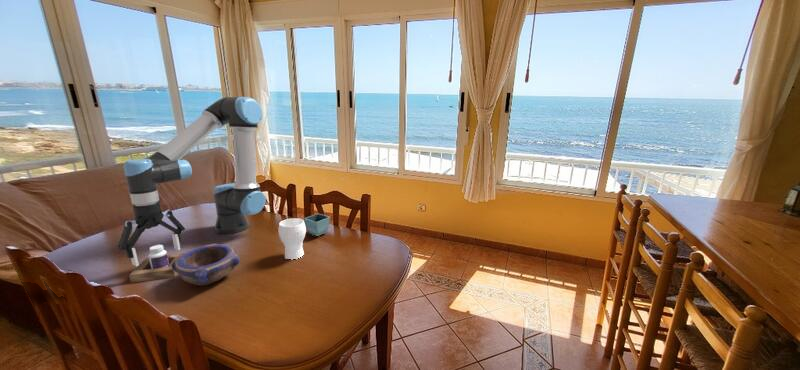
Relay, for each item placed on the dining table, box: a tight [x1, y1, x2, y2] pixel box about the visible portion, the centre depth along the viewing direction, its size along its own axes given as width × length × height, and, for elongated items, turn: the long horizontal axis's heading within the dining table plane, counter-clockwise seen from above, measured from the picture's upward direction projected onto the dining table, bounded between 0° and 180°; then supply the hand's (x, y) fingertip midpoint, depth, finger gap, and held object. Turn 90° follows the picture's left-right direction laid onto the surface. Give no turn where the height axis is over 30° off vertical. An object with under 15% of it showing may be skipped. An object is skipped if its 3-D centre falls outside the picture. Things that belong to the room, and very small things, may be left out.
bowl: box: [172, 243, 241, 286], centre depth 107 cm, size 18×18×10 cm
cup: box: [277, 217, 307, 261], centre depth 123 cm, size 11×11×15 cm
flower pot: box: [303, 213, 331, 237], centre depth 145 cm, size 9×9×9 cm
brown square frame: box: [128, 252, 186, 284], centre depth 112 cm, size 13×13×3 cm
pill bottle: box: [148, 244, 169, 269], centre depth 112 cm, size 5×5×10 cm
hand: (157, 256), depth 111 cm, fingers open, 13 cm apart
